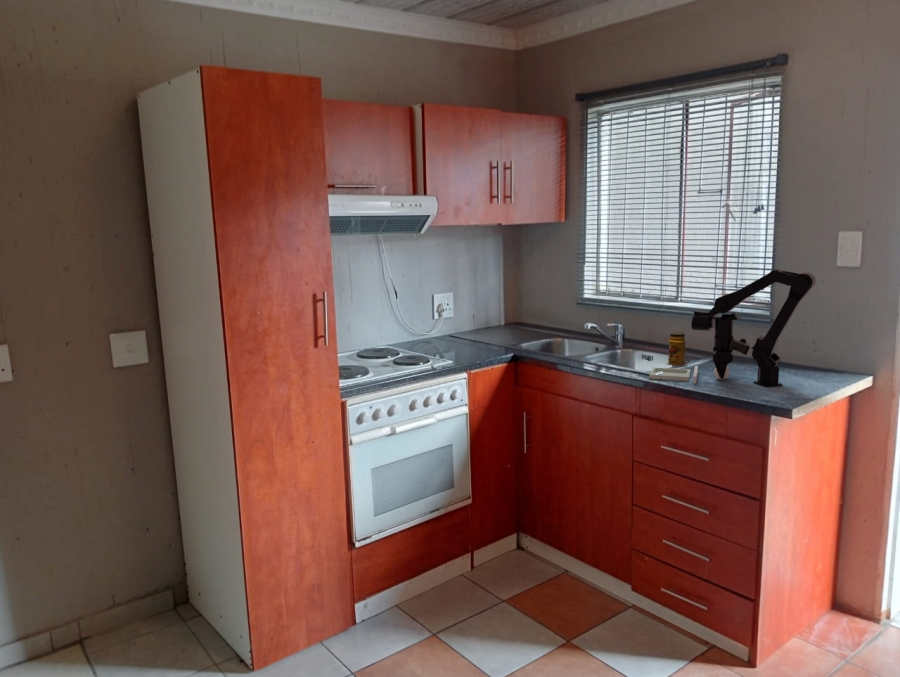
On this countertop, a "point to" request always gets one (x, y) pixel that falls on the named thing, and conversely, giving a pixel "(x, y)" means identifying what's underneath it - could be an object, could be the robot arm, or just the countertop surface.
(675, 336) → the condiment
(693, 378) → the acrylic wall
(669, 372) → the tray
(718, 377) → the ball
